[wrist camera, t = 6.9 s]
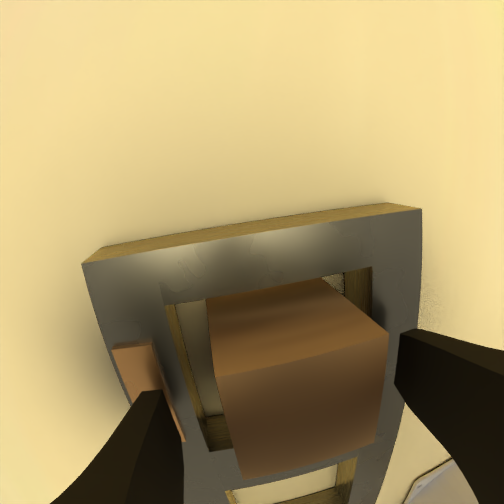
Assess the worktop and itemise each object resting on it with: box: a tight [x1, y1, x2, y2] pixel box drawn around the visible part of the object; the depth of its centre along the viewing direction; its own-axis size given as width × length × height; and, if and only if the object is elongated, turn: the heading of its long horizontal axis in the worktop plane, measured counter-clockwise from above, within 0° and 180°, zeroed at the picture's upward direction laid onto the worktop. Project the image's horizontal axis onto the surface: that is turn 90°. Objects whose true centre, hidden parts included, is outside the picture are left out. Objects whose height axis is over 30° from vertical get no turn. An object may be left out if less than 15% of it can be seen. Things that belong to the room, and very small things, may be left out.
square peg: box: [206, 277, 389, 480], centre depth 9 cm, size 4×4×4 cm
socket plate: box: [81, 203, 422, 504], centre depth 11 cm, size 18×10×2 cm, turn 8°
